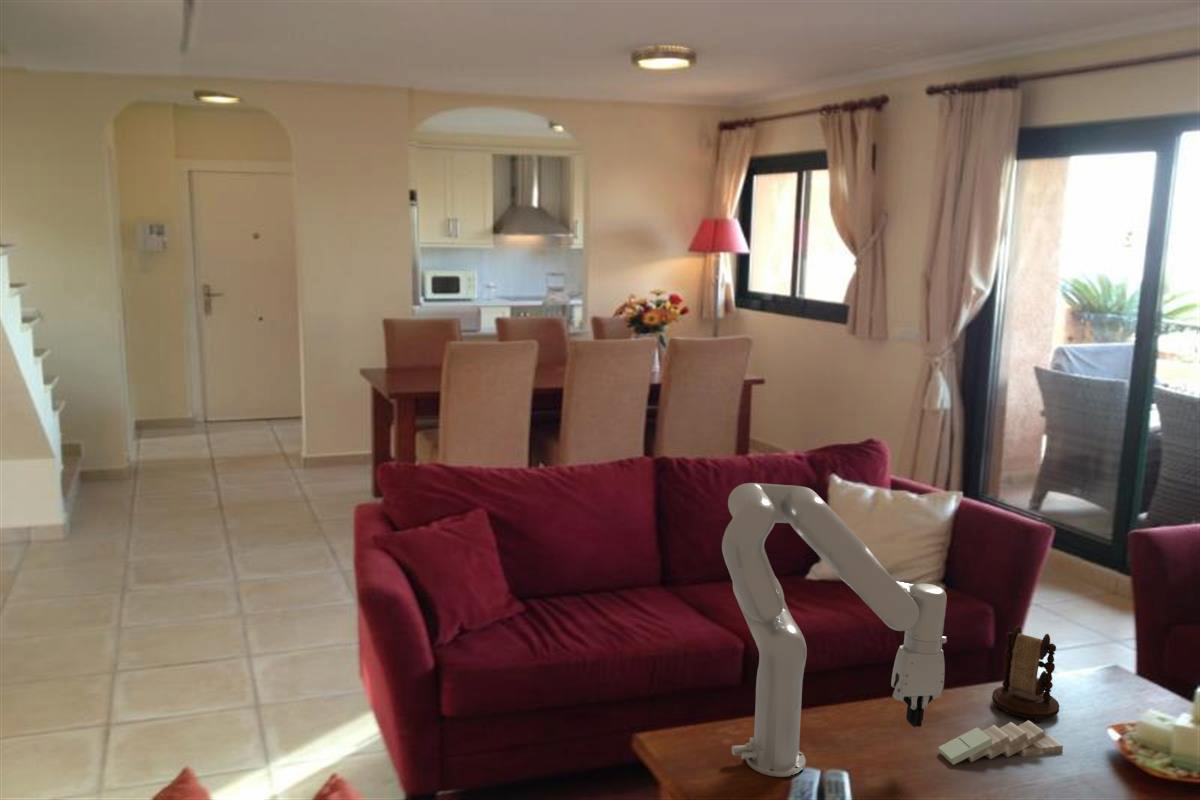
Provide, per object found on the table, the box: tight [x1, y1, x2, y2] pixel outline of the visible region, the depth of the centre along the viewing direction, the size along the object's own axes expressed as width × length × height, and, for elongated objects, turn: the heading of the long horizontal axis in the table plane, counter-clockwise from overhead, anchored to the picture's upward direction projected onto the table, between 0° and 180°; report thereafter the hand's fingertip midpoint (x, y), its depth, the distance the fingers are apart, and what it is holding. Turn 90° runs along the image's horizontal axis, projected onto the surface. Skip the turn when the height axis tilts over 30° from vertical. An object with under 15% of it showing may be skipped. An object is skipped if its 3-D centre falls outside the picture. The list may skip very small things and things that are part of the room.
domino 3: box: [984, 721, 1028, 760], centre depth 217 cm, size 2×5×10 cm
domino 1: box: [938, 727, 993, 766], centre depth 215 cm, size 2×5×10 cm
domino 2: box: [965, 724, 1010, 763], centre depth 216 cm, size 2×5×10 cm
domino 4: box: [1001, 719, 1046, 758], centre depth 218 cm, size 2×5×10 cm
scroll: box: [991, 625, 1060, 724], centre depth 236 cm, size 15×15×20 cm
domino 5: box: [1016, 733, 1064, 757], centre depth 219 cm, size 2×5×10 cm
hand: (913, 723), depth 212 cm, fingers closed
